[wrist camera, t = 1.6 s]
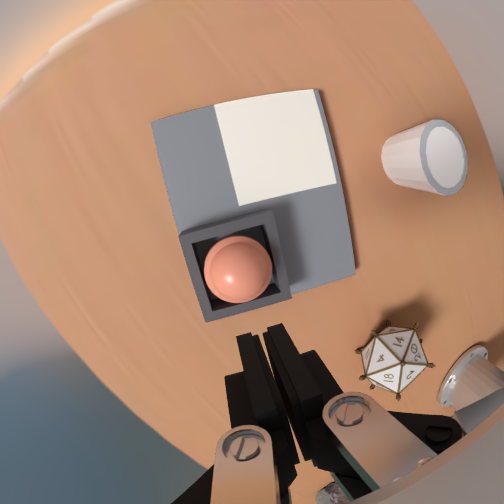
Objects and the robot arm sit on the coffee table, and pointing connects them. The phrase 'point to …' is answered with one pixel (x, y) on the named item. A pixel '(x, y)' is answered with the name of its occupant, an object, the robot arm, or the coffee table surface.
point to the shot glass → (427, 158)
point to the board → (258, 191)
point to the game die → (393, 358)
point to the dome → (237, 268)
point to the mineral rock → (331, 495)
